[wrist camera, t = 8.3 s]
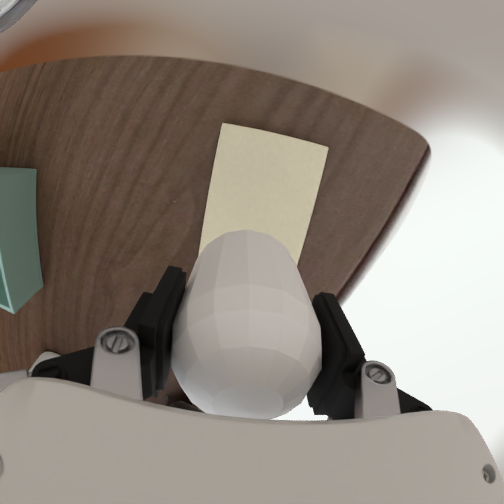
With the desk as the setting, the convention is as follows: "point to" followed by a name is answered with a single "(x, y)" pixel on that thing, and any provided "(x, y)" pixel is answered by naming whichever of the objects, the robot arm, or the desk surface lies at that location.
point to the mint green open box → (18, 238)
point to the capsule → (246, 330)
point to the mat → (263, 186)
